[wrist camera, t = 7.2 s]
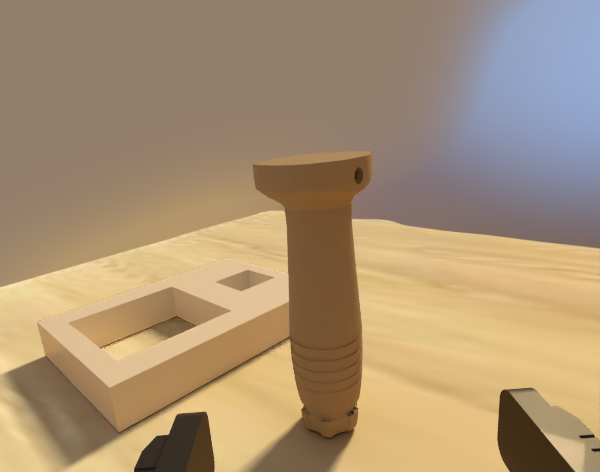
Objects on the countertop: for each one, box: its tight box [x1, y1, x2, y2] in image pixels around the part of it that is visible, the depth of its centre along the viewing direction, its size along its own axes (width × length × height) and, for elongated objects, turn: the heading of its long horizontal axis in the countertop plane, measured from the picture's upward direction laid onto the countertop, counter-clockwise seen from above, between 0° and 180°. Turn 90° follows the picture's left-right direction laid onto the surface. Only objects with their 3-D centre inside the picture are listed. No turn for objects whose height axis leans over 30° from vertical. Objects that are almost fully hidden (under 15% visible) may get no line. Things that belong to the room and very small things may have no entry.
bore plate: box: [37, 258, 290, 432], centre depth 35 cm, size 19×14×3 cm
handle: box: [253, 152, 372, 438], centre depth 22 cm, size 5×6×15 cm
